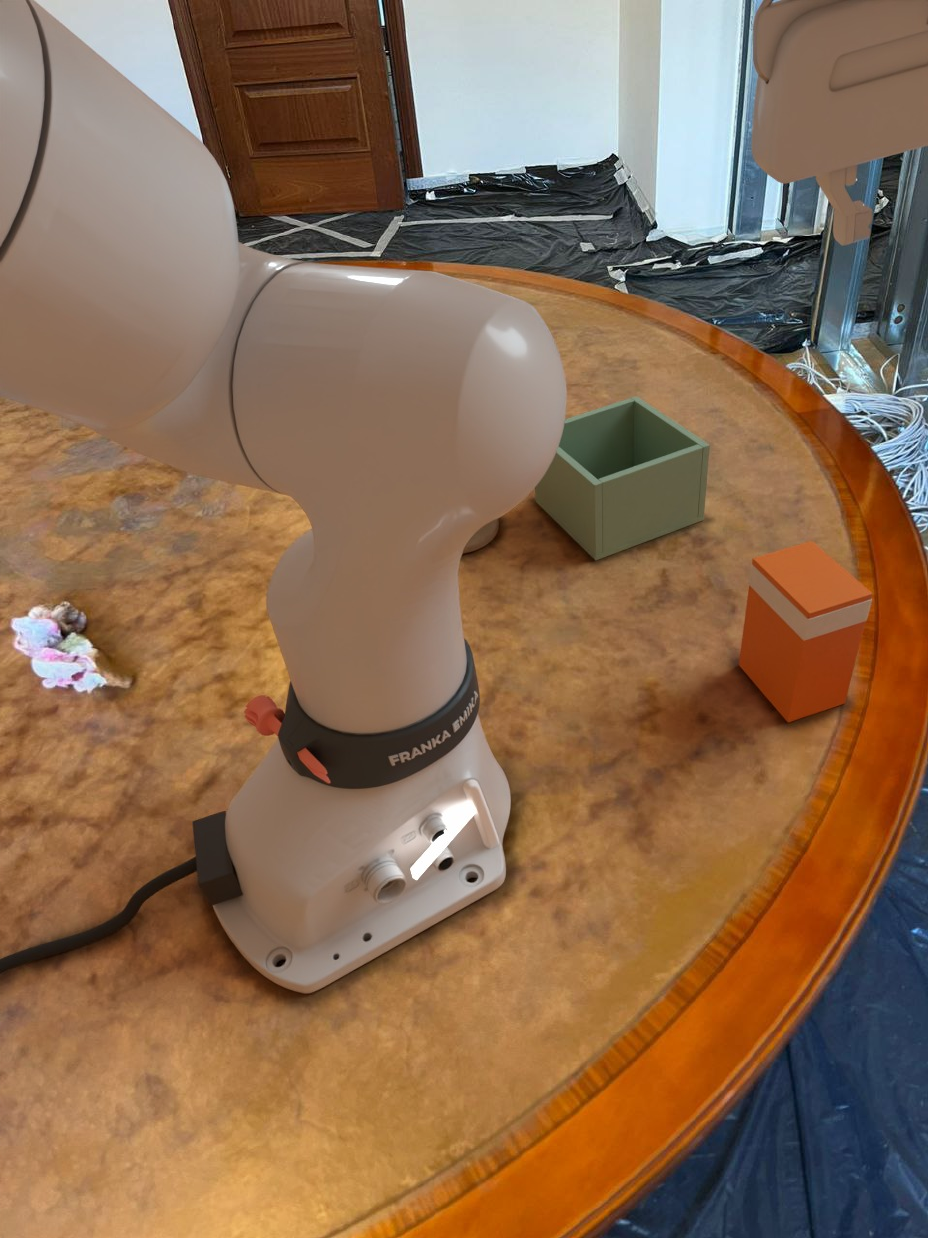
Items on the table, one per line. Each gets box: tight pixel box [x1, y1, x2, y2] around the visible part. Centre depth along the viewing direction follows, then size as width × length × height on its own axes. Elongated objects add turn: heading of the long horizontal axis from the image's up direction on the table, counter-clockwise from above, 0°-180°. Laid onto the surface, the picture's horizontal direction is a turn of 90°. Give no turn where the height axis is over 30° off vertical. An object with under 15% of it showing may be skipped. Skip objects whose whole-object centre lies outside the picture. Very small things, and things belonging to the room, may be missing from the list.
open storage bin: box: [534, 395, 711, 561], centre depth 87 cm, size 13×13×9 cm
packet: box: [738, 540, 873, 723], centre depth 65 cm, size 5×7×11 cm
